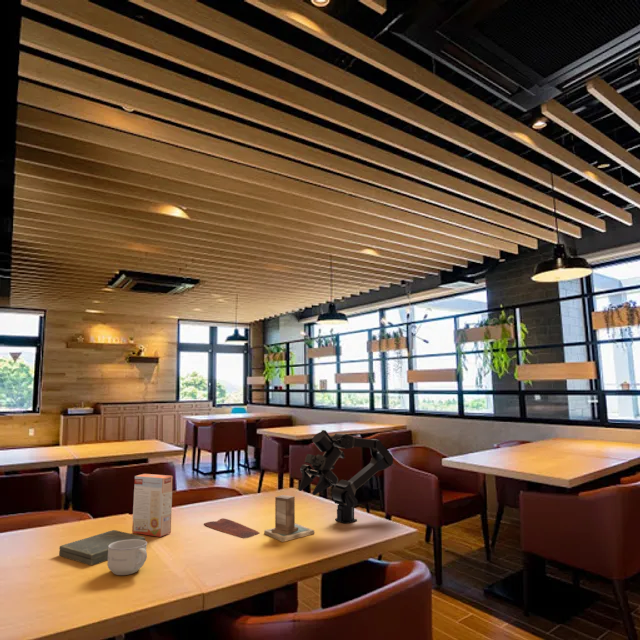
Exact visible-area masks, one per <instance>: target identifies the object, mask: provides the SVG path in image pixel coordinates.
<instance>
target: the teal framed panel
mask: <svg viewBox="0 0 640 640" xmlns="http://www.w3.org/2000/svg"><path fill="white" fill-rule="evenodd" d="M295 527H298V530H297V531H295V532H293V533H290V534H288V535H284V534H279V533H274V532H272V529H273V528H274V527H273V528H269V529H264V530H263V531H264V532H263V533H264V534H265V535H266V536H269V537H271V538H273V539H275V540H277V541H280V542H282V543H283V542H289V541H290V540H294V539H298V538H302V537H307V536H310V535H311V536H312V535H314V534H315V530H314V529H311V528H309V527H307V526H304V525H302V524H298V523H296V522H295Z"/></svg>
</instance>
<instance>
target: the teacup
mask: <svg viewBox="0 0 640 640" xmlns="http://www.w3.org/2000/svg"><path fill="white" fill-rule="evenodd" d="M147 545H148V541H146V539H145V540H138V539H131V540H122V541H117V542H113V543H111V544H109V545H108V560H107V569H109V571H111V572H112V574H114V575H117V576H126V575H127V576H128V575H132V574H135V573H137V572H138V571H139V570H140V569H141V568H142V567H143V566H144V565H145V563H146V561H147V558H148V552H147Z"/></svg>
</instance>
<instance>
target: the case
mask: <svg viewBox="0 0 640 640" xmlns="http://www.w3.org/2000/svg"><path fill="white" fill-rule="evenodd" d="M131 539H138V540H145V541H146V537H145V536H143V535H139V534H135V533H130V532H129V533H128V532H123V531H119V530H115V529H113V530H109V531H105V532H102V533H99V534H96V535H92V536H90V537H85V538H83V539H82V538H81V539H79V540H75V541H72V542H68V543H65V544H61V545H60V546H59V548H58V549H59V551H58V552H59V553H58V555H59V557H63V558H66V559H69V560H71V561H75V562H79V563H82V564H86V565H89V566H93V565H97V564H100V563H103V562H106V561H108V545H109V544H111V543H113V542H117V541H122V540H131Z"/></svg>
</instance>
